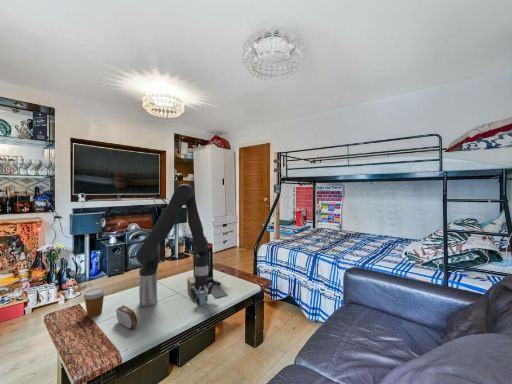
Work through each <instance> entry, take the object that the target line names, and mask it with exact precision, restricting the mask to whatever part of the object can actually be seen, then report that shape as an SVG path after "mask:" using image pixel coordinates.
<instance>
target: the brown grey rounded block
mask: <svg viewBox="0 0 512 384" xmlns="http://www.w3.org/2000/svg"><path fill="white" fill-rule="evenodd" d="M116 319H117V321H118V323H119V324H120V325H122V326H123V327H124V328H126V329H128V330H131V329H134V328H136V327H137V326H138V317H137V315H136V312H135V311H134V310H133V309H132V308H129V307H127V306H126V305H122V306H119V307H118V308H116Z"/></svg>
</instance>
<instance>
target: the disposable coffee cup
mask: <svg viewBox="0 0 512 384" xmlns="http://www.w3.org/2000/svg"><path fill="white" fill-rule="evenodd" d="M105 294H106V290H105V289H104V288H101V287H100V288H98V287H97V288H93V289H89V290H87V291H85V292H84V295H83V299H84V302H85V303H84V305H85V310H86V315H87V317H89V318H95V317H98V316H100V315H101V314H102V312H103V308H104V307H103V305H104V300H105V299H104V297H105Z"/></svg>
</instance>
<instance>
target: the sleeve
mask: <svg viewBox="0 0 512 384" xmlns="http://www.w3.org/2000/svg"><path fill="white" fill-rule="evenodd" d="M186 282H187V284H186V285H187V286H186V287H187V291H186V292H187V294H188V295H189V298H190V299H193V298H194V297H193V295H192V292H191V290H190V287H193V286H194V284H195V277H194V276H190V277H187V281H186Z"/></svg>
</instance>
